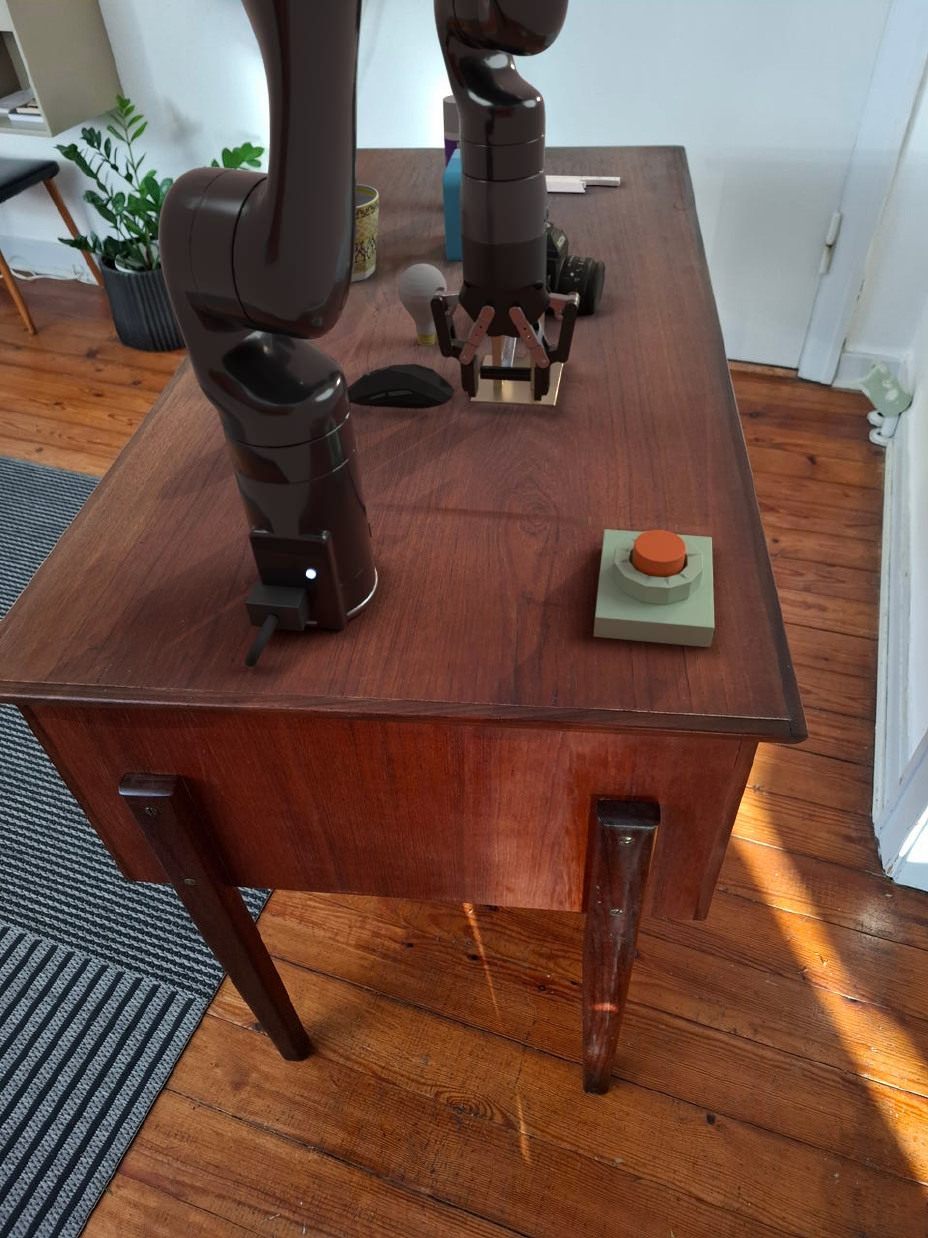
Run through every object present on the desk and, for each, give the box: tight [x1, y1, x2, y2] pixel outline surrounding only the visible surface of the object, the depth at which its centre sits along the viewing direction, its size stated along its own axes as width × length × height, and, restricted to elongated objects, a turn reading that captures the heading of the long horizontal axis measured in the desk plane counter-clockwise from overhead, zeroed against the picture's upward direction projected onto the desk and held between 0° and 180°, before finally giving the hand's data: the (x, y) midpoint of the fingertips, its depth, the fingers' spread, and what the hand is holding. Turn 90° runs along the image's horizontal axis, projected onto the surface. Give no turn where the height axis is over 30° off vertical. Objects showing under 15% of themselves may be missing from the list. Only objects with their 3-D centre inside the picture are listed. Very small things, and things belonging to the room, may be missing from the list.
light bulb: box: [398, 263, 448, 346], centre depth 102 cm, size 6×6×10 cm
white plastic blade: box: [545, 175, 621, 194], centre depth 142 cm, size 5×15×1 cm, turn 78°
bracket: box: [470, 312, 564, 407], centre depth 94 cm, size 10×9×13 cm
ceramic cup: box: [351, 183, 380, 283], centre depth 120 cm, size 13×10×10 cm
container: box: [442, 94, 460, 168], centre depth 134 cm, size 5×5×15 cm
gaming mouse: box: [347, 363, 455, 409], centre depth 96 cm, size 6×15×4 cm, turn 84°
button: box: [632, 529, 686, 578], centre depth 71 cm, size 4×4×2 cm
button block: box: [593, 528, 715, 648], centre depth 72 cm, size 11×9×4 cm
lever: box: [479, 336, 532, 382], centre depth 89 cm, size 12×5×2 cm, turn 170°
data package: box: [442, 149, 462, 262], centre depth 122 cm, size 12×4×12 cm, turn 172°
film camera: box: [545, 220, 606, 315], centre depth 108 cm, size 18×12×10 cm
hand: (506, 394), depth 89 cm, fingers open, 6 cm apart
